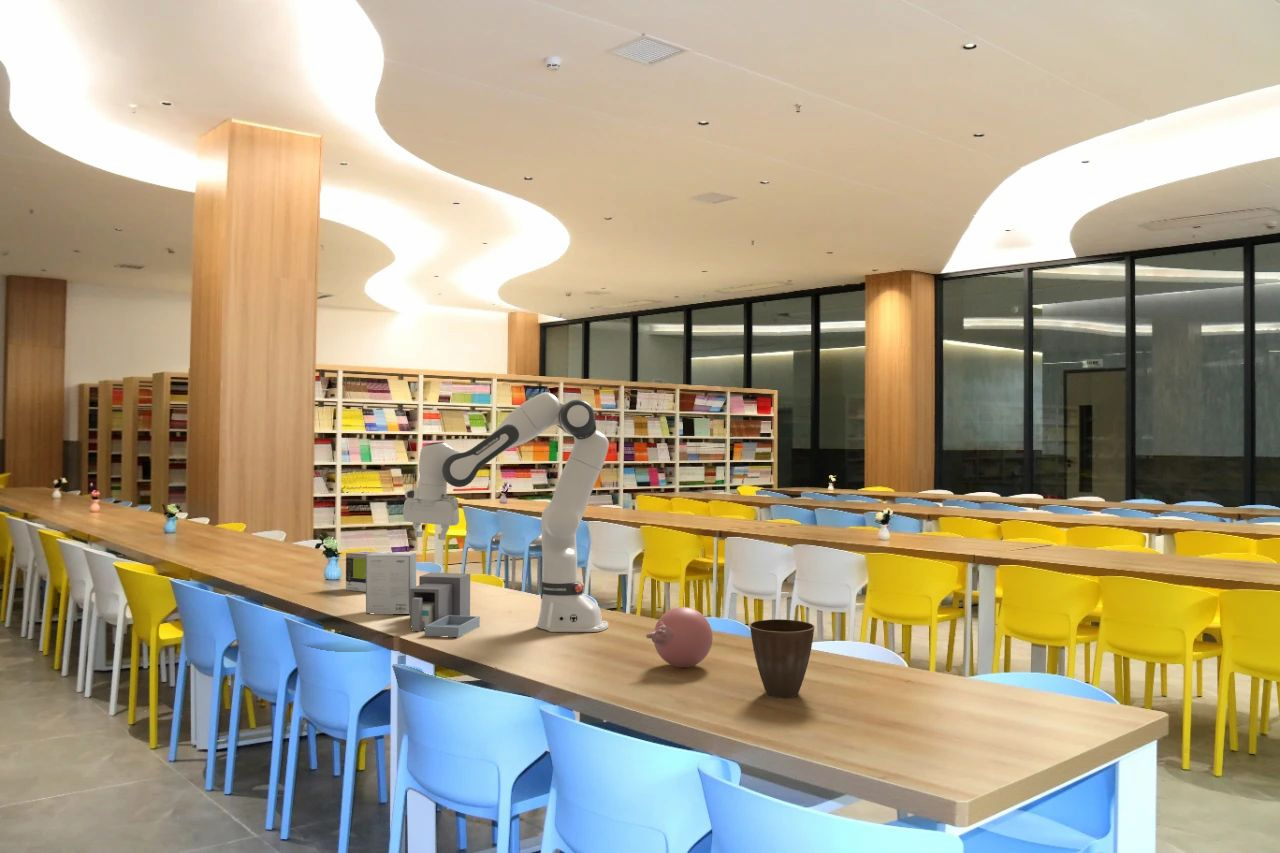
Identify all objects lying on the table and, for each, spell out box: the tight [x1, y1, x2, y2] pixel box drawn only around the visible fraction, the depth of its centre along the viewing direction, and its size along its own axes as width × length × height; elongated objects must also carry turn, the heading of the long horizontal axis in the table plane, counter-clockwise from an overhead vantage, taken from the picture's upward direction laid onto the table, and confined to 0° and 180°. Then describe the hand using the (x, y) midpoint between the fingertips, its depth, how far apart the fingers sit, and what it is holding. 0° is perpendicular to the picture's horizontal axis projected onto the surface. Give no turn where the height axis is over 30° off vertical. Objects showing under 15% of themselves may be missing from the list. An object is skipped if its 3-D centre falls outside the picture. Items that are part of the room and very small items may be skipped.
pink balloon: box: [645, 606, 714, 668], centre depth 257 cm, size 15×20×15 cm
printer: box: [409, 572, 471, 627], centre depth 320 cm, size 14×22×14 cm, turn 170°
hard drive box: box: [365, 552, 417, 615], centre depth 335 cm, size 16×8×20 cm, turn 84°
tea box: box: [345, 550, 390, 593], centre depth 384 cm, size 15×10×15 cm
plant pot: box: [749, 618, 815, 699], centre depth 231 cm, size 15×15×16 cm
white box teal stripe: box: [411, 598, 435, 632], centre depth 309 cm, size 5×13×10 cm, turn 170°
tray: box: [424, 615, 481, 638], centre depth 303 cm, size 11×19×3 cm, turn 170°
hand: (430, 538), depth 308 cm, fingers open, 8 cm apart
